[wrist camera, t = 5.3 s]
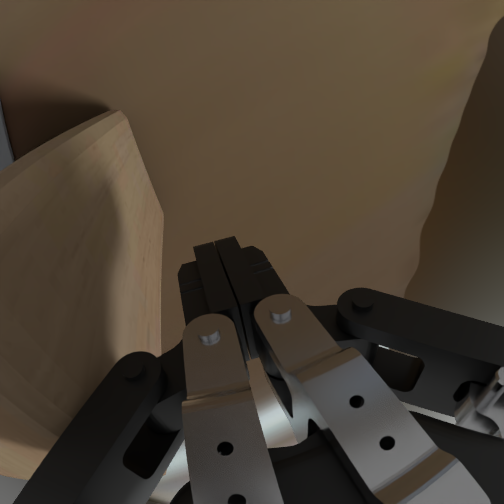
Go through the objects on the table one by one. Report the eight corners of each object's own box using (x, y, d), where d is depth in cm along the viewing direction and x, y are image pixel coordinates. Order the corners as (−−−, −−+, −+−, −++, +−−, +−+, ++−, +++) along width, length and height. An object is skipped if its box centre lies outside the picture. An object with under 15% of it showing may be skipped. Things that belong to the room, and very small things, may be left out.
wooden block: (68, 257, 24) (6, 481, 7) (18, 158, 18) (-152, 340, 2) (168, 219, 24) (183, 486, 8) (124, 103, 19) (-83, 248, 2)
